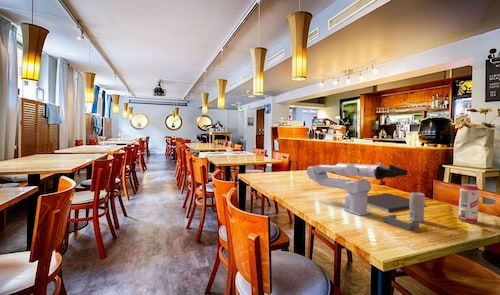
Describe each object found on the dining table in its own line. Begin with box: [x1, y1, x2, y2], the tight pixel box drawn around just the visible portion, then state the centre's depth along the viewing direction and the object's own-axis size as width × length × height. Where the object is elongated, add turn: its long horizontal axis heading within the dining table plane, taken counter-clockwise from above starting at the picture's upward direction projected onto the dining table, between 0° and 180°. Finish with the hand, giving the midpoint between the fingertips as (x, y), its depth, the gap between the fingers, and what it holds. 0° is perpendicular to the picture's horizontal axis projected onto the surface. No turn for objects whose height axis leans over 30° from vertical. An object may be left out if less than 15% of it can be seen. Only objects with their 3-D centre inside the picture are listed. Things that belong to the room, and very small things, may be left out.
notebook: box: [367, 192, 426, 213], centre depth 133 cm, size 22×2×28 cm
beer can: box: [457, 183, 480, 224], centre depth 106 cm, size 6×6×16 cm
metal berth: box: [383, 213, 420, 232], centre depth 101 cm, size 10×7×2 cm, turn 29°
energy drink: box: [408, 191, 426, 224], centre depth 106 cm, size 5×5×12 cm
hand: (401, 173), depth 99 cm, fingers open, 7 cm apart
